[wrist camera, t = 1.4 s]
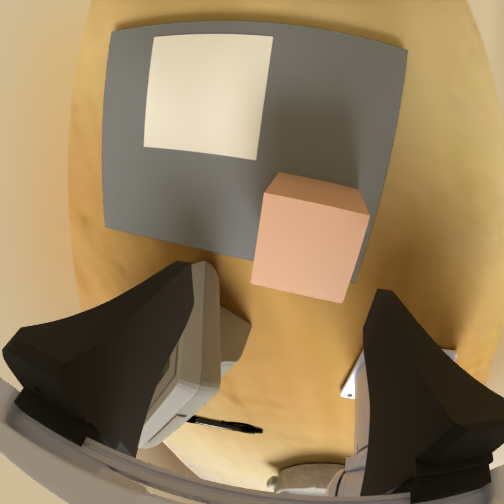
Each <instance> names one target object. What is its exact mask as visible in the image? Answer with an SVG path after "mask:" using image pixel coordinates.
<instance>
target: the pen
mask: <svg viewBox="0 0 504 504" xmlns="http://www.w3.org/2000/svg"><path fill="white" fill-rule="evenodd" d="M186 422H189V423H195V424H196V423H197V424H202V425H207V426H211V427H217V428H222V429H227V430H233V431H239V432H243V433H250V434H255V433H263V430H262V429H256V428H255V427H253V426H251V425H248V424H244V423H237V422H224V421H221V422H218V421H213V420H208V419H203V418H198V417H196V416H192V417H191V418H190V419H188V420H187V421H186ZM234 424H236V425H234ZM240 425H244V426H240Z"/></svg>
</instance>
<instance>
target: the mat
mask: <svg viewBox="0 0 504 504" xmlns="http://www.w3.org/2000/svg"><path fill="white" fill-rule="evenodd" d="M407 52H408V50H406V49H403V48H400V47H396V46H393V45H390V44H386V43H383V42H379V41H376V40H372V39H368V38H364V37H360V36H355V35H351V34H346V33H342V32H336V31H331V30H326V29H320V28H313V27H307V26H299V25H291V24H282V23H270V22H255V21H194V22H179V23H167V24H158V25H150V26H143V27H136V28H130V29H124V30H118V31H113V32H112V33H111V39H110V46H109V53H108V61H107V70H106V80H105V91H104V105H103V127H102V182H103V204H104V219H105V227H106V228H110V229H115V230H119V231H123V232H128V233H132V234H136V235H140V236H145V237H149V238H153V239H158V240H162V241H166V242H171V243H175V244H180V245H184V246H188V247H193V248H197V249H202V250H206V251H210V252H215V253H219V254H224V255H228V256H233V257H237V258H242V259H246V260H250V261H254V257H255V250H256V243H257V237H258V230H259V223H260V216H261V210H262V203H263V196H264V192H265V191H266V189H267V188H268V186H269V185H270V184H271V182H272V181H273V180H274V178H275V177H276V175H277V174H278V173H279V172H281V173H286V174H292V175H297V176H302V177H306V178H311V179H316V180H321V181H325V182H330V183H334V184H339V185H343V186H347V187H351V188H356V189H359V192H360V194H361V196H362V198H363V201H364V203H365V205H366V207H367V210H368V212H369V214H370V218H369V221H368V225H367V228H366V232H365V235H364V239H363V242H362V245H361V249H360V252H359V255H358V258H357V261H356V265H355V268H354V271H353V274H352V277H351V280H350V282H351V283H354V282H355V279H356V277H357V274H358V271H359V268H360V265H361V262H362V258H363V255H364V252H365V249H366V246H367V243H368V239H369V236H370V233H371V229H372V226H373V222H374V219H375V215H376V212H377V208H378V204H379V201H380V197H381V193H382V189H383V185H384V181H385V177H386V173H387V169H388V164H389V160H390V155H391V151H392V146H393V141H394V136H395V131H396V126H397V121H398V115H399V109H400V104H401V97H402V91H403V84H404V77H405V69H406V61H407Z"/></svg>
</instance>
